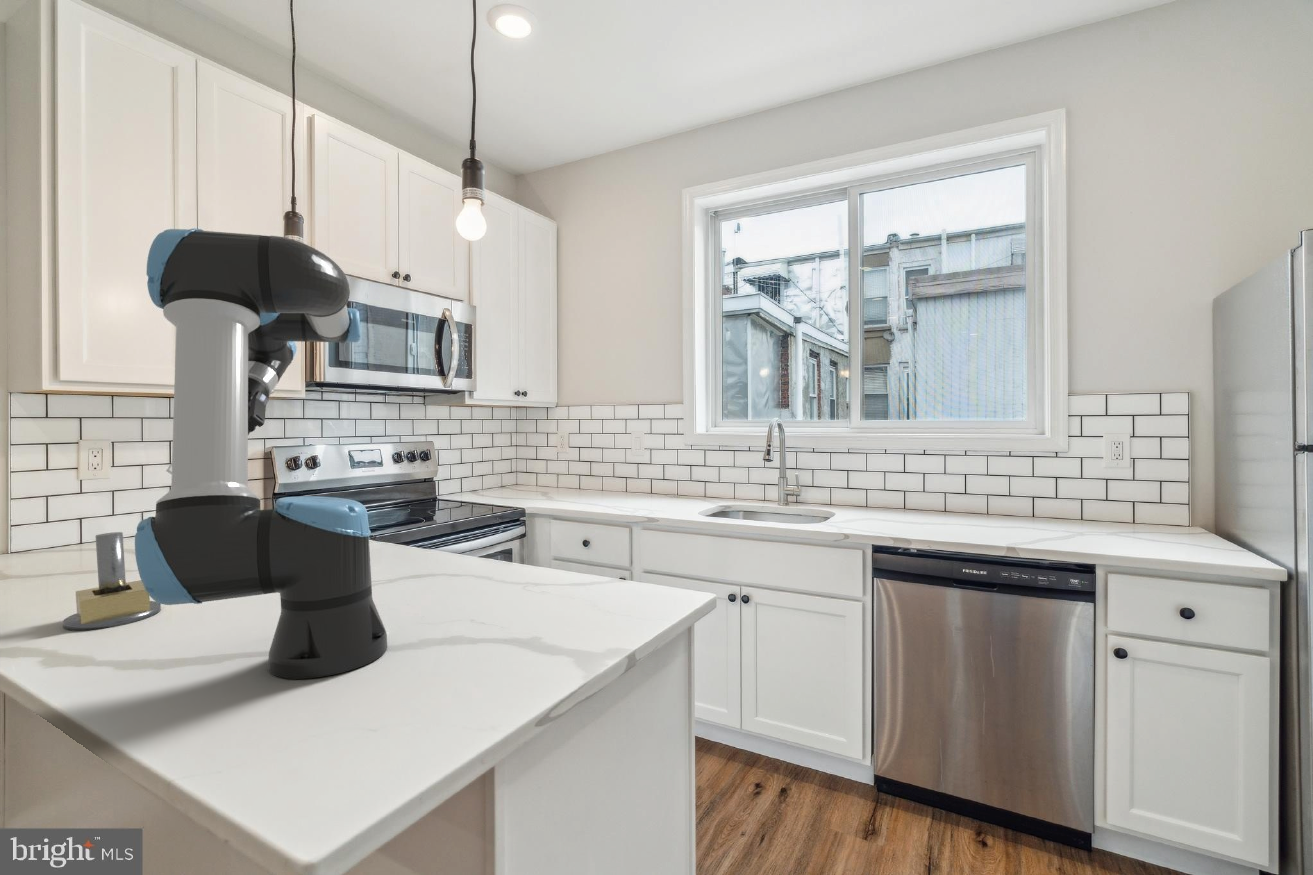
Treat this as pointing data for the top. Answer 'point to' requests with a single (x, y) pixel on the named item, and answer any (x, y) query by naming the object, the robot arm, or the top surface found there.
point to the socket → (111, 608)
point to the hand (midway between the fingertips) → (199, 465)
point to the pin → (110, 562)
